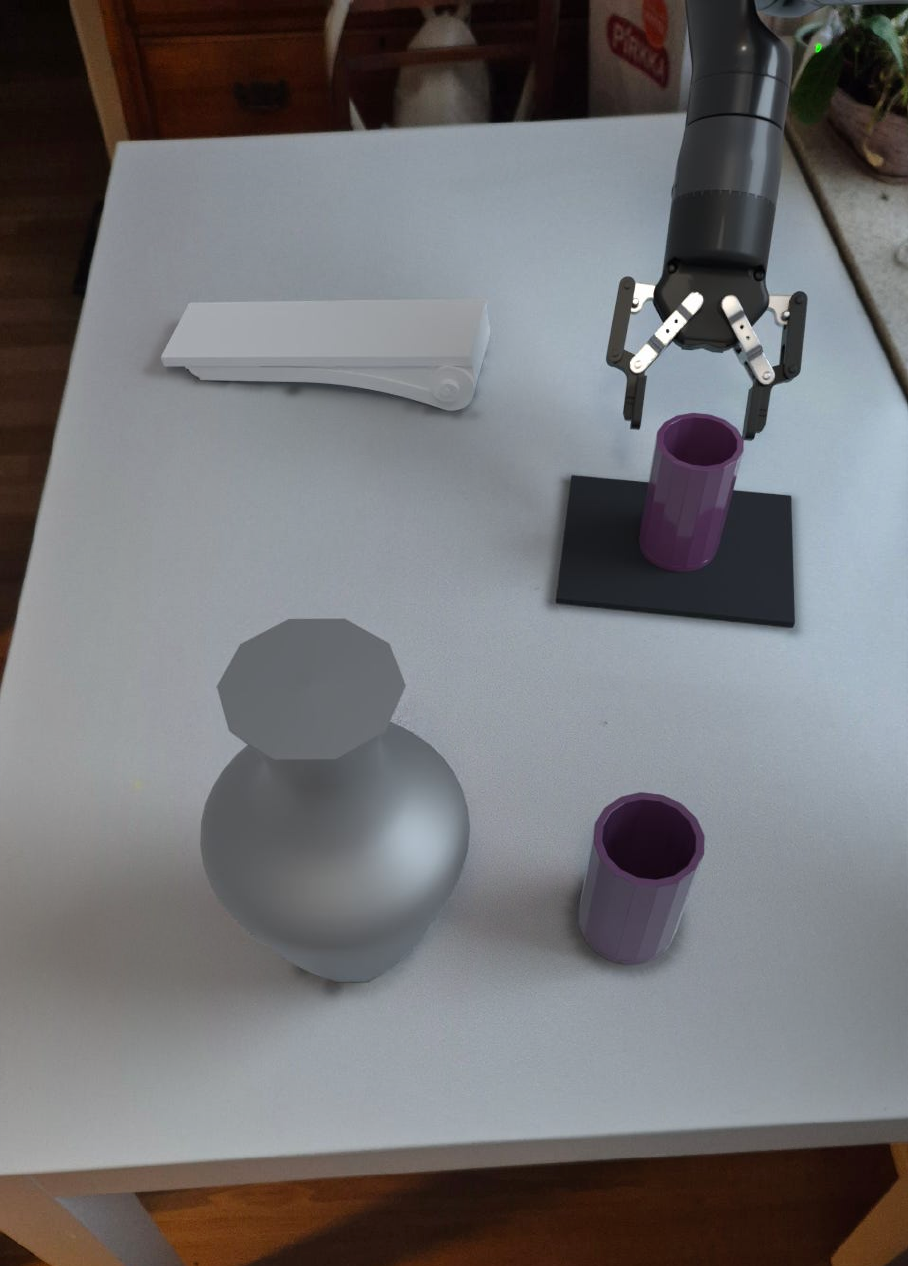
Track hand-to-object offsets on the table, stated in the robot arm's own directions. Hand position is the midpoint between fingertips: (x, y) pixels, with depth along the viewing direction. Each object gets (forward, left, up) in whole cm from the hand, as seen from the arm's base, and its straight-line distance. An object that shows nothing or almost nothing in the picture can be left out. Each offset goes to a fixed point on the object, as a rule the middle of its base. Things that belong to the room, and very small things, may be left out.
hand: (691, 434), depth 86 cm
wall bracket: (+32, -15, -8) cm, 36 cm away
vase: (+19, +41, -8) cm, 46 cm away
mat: (0, +4, -8) cm, 9 cm away
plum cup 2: (+2, +38, -8) cm, 39 cm away
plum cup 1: (0, +4, -7) cm, 8 cm away
